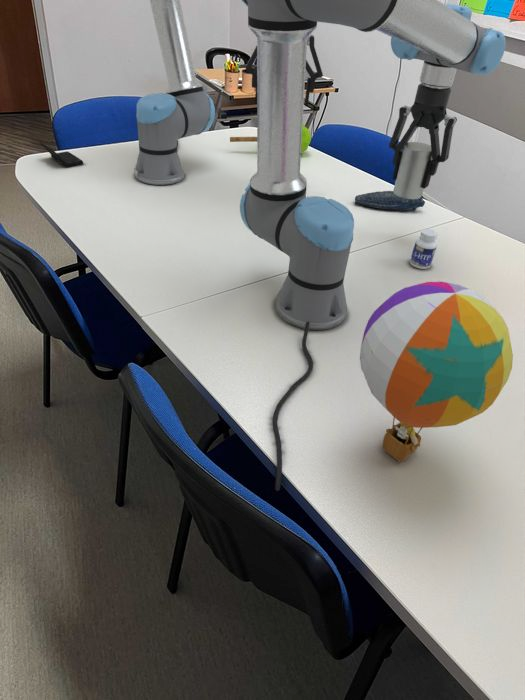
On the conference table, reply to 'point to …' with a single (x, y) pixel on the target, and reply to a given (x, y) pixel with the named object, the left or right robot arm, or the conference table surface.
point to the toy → (434, 359)
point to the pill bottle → (424, 249)
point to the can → (412, 170)
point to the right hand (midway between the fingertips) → (410, 182)
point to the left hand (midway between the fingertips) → (281, 103)
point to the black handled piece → (64, 157)
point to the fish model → (388, 201)
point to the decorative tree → (304, 144)
